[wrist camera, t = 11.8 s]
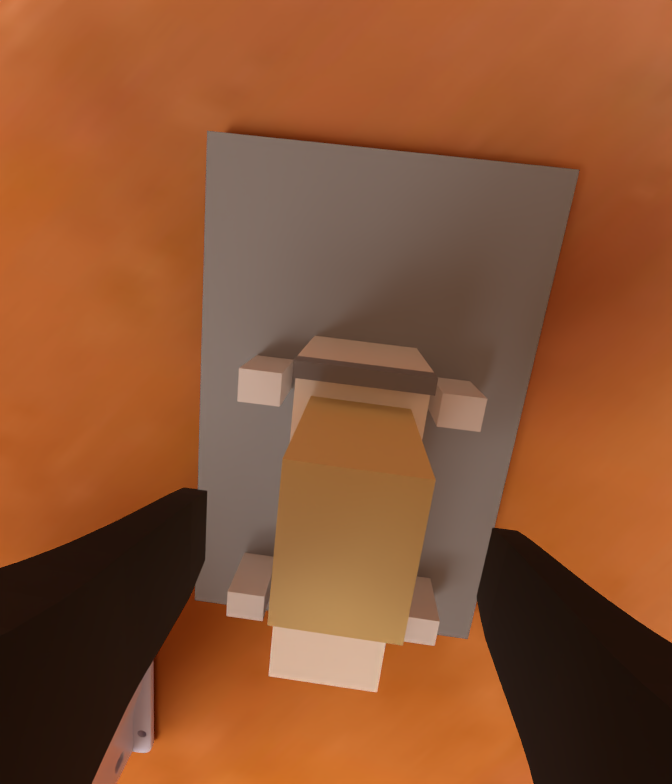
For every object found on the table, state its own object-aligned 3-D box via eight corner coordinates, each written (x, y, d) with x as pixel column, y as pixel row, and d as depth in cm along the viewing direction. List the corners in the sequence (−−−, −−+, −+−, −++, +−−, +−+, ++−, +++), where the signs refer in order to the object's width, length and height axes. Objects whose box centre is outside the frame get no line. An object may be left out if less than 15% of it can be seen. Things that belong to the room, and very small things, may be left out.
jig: (462, 619, 21) (481, 688, 18) (203, 582, 22) (172, 643, 18) (563, 177, 16) (622, 148, 12) (218, 141, 16) (177, 102, 13)
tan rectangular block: (390, 526, 14) (402, 645, 9) (298, 513, 14) (267, 625, 9) (410, 408, 13) (435, 480, 8) (310, 396, 13) (282, 459, 8)
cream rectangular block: (313, 335, 17) (291, 359, 12) (417, 348, 17) (439, 378, 12) (287, 594, 20) (262, 698, 15) (374, 606, 20) (378, 715, 15)
